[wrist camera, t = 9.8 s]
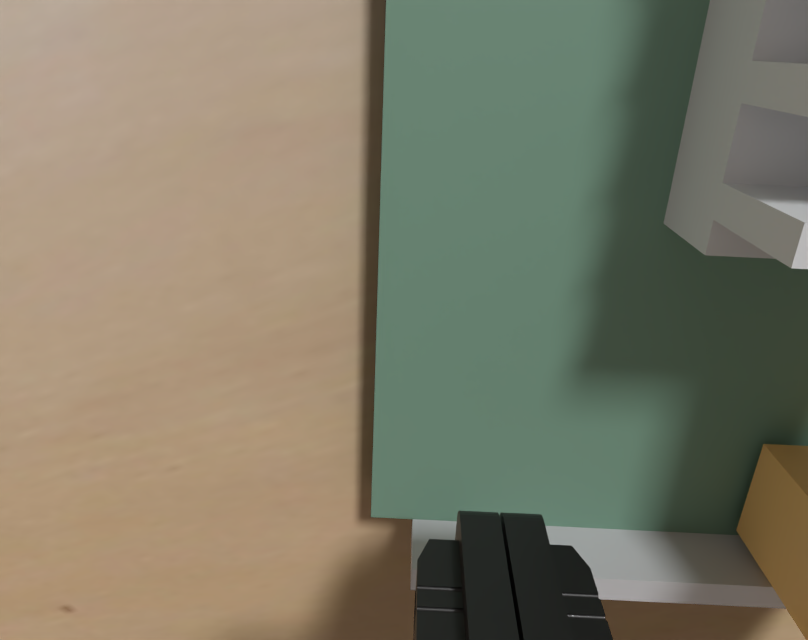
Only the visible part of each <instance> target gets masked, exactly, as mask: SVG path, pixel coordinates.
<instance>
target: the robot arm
mask: <svg viewBox="0 0 808 640" xmlns="http://www.w3.org/2000/svg"><path fill="white" fill-rule="evenodd" d="M413 640H613V638H612V635H611V632H610V629H609V626H608V622H607V621H606V620H605V613H604V610H603V606H602V603H601V600H600V599H599V597H598V591H597V587H596V584H595V581H594V578H593V575H592V571H591V568H590V567H589V566H588V565H587V563H586V562H585V561H584V560H583V559H582V557H581V556H580V555H579V554H578V552H577V551H576V550H575V549H574V548H573V546H571V545H550V543H549V539H548V535H547V531H546V527H545V523H544V519H543V517H542V515H541V514H525V513H504V512H501V513H500V515H499V513H498V512H480V511H458V514H457V523H456V534H455V540H442V539H429V540H428V542H427V544H426V546H425V547H424V549H423V551H422V553H421V554H420V556H419V558H418V560H417V574H416V592H415V609H414V634H413Z"/></svg>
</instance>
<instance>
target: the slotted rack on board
mask: <svg viewBox="0 0 808 640" xmlns="http://www.w3.org/2000/svg"><path fill="white" fill-rule="evenodd" d="M763 444H777V445H797V446H808V0H386V19H385V53H384V87H383V121H382V155H381V189H380V223H379V258H378V292H377V326H376V360H375V394H374V428H373V462H372V497H371V517H379V518H399V519H412V536H411V589H410V590H416V574H417V560H418V558H419V556H420V554H421V553H422V551H423V549H424V547H425V546H426V544H427V542H428V540H429V539H442V540H455V534H456V523H457V514H458V511H480V512H498V513H499V515H500V513H501V512H504V513H525V514H541V515H542V517H543V519H544V523H545V527H546V531H547V535H548V539H549V543H550V545H571V546H573V548H574V549H575V550H576V551H577V552H578V554H579V555H580V556H581V557H582V559H583V560H584V561H585V562H586V563H587V565H588V566H589V567H590V568H591V571H592V575H593V578H594V581H595V584H596V587H597V591H598V597H599V599H603V600H623V601H643V602H663V603H684V604H704V605H724V606H744V607H764V608H784V609H786V607H785V606H784V604H783V603H782V601H781V599H780V598H779V596H778V595H777V593H776V592H775V590H774V589H773V587H772V585H771V584H770V582H769V581H768V579H767V578H766V576H765V574H764V573H763V571H762V570H761V568H760V567H759V565H758V564H757V562H756V560H755V559H754V557H753V556H752V554H751V553H750V551H749V550H748V548H747V546H746V545H745V543H744V542H743V540H742V539H741V537H740V535H739V534H738V532H737V531H736V529H737V526H738V523H739V520H740V517H741V513H742V510H743V507H744V504H745V501H746V498H747V494H748V491H749V488H750V485H751V482H752V479H753V475H754V472H755V469H756V466H757V463H758V459H759V456H760V453H761V450H762V447H763Z"/></svg>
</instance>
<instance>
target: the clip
mask: <svg viewBox="0 0 808 640" xmlns="http://www.w3.org/2000/svg"><path fill="white" fill-rule="evenodd" d="M736 531H737V532H738V534H739V535H740V537H741V539H742V540H743V542H744V543H745V545H746V546H747V548H748V550H749V551H750V553H751V554H752V556H753V557H754V559H755V560H756V562H757V564H758V565H759V567H760V568H761V570H762V571H763V573H764V574H765V576H766V578H767V579H768V581H769V582H770V584H771V585H772V587H773V589H774V590H775V592H776V593H777V595H778V596H779V598H780V599H781V601H782V603H783V604H784V606H785V607H786V609H787V610H788V612H789V613H790V615H791V617H792V618H793V620H794V621H795V623H796V624H797V626H798V627H799V629H800V631H801V632H802V634H803V635H804V637H805V638H806V640H808V446H797V445H777V444H763V447H762V450H761V453H760V456H759V459H758V463H757V466H756V469H755V472H754V475H753V479H752V482H751V485H750V488H749V491H748V494H747V498H746V501H745V504H744V507H743V510H742V513H741V517H740V520H739V523H738V526H737V529H736Z"/></svg>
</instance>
